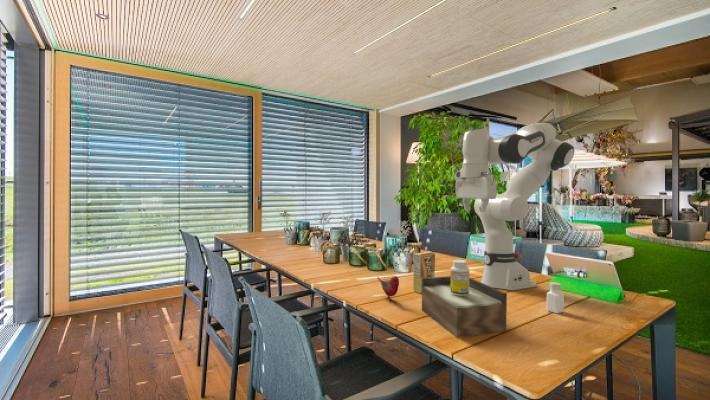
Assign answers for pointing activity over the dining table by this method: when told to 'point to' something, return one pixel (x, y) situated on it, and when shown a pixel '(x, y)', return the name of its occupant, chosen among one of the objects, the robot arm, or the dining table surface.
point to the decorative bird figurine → (390, 286)
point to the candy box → (423, 269)
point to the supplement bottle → (459, 278)
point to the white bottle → (555, 298)
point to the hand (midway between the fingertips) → (474, 211)
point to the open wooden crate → (464, 307)
